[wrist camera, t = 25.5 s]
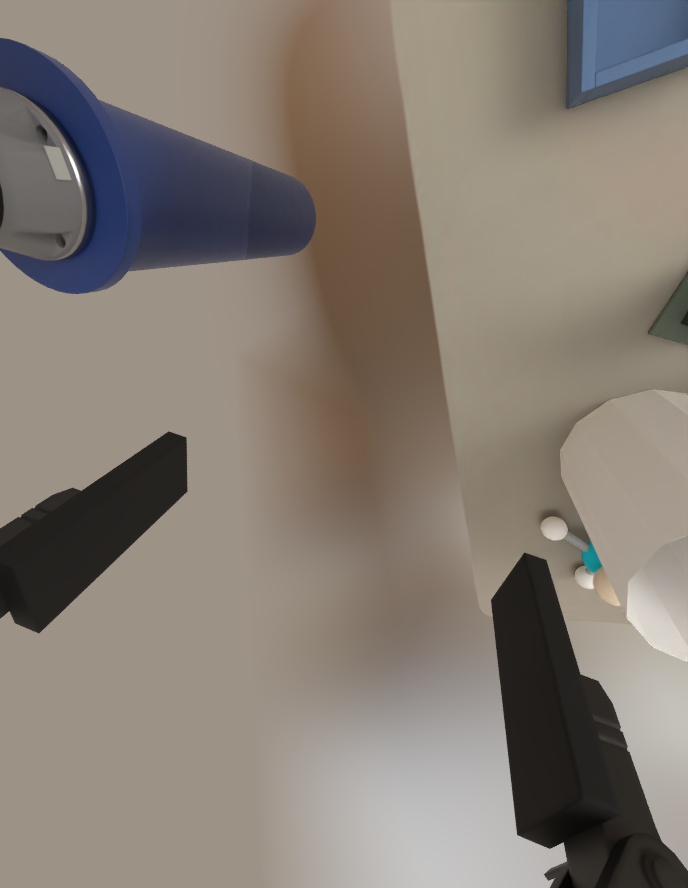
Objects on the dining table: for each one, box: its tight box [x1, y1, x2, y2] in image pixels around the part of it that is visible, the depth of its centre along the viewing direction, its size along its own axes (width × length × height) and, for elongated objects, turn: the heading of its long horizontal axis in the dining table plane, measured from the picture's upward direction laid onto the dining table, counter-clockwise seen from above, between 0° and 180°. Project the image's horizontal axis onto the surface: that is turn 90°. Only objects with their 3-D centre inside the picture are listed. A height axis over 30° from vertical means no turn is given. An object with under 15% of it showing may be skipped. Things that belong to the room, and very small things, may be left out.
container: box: [560, 389, 688, 662], centre depth 30 cm, size 14×14×18 cm
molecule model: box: [541, 517, 621, 606], centre depth 40 cm, size 12×12×9 cm
